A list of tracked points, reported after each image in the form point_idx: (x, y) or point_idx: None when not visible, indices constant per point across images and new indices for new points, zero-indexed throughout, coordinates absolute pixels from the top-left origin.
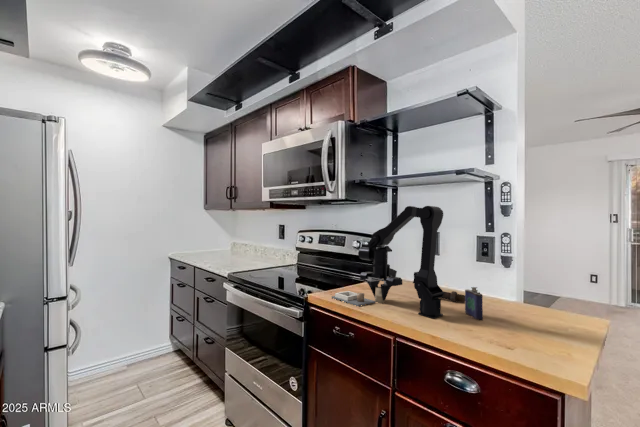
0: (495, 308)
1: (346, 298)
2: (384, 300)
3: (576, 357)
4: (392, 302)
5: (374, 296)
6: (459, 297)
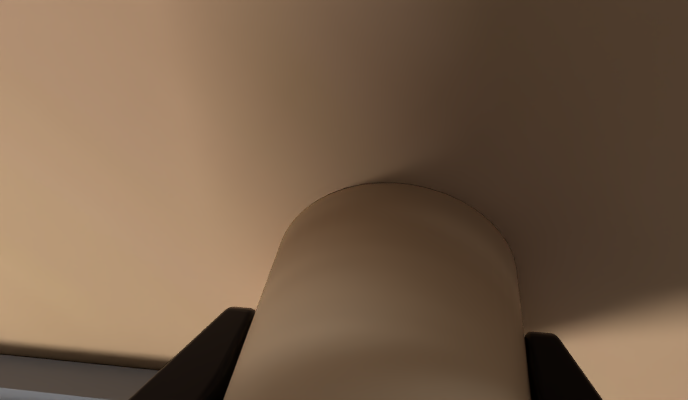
0: None
1: None
2: (519, 305)
3: None
4: (672, 55)
5: None
6: None
